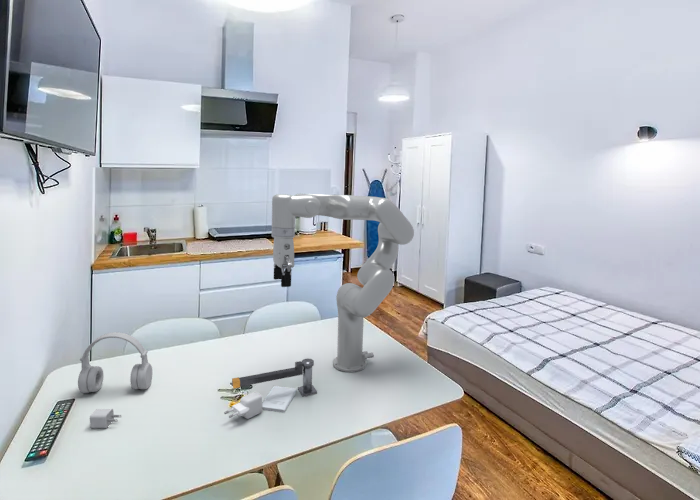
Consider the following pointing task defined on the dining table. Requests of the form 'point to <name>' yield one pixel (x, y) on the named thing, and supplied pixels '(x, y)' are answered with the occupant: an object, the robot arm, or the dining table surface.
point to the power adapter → (247, 406)
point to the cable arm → (273, 374)
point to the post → (307, 383)
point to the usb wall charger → (102, 418)
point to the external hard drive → (278, 399)
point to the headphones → (93, 375)
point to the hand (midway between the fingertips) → (282, 282)
